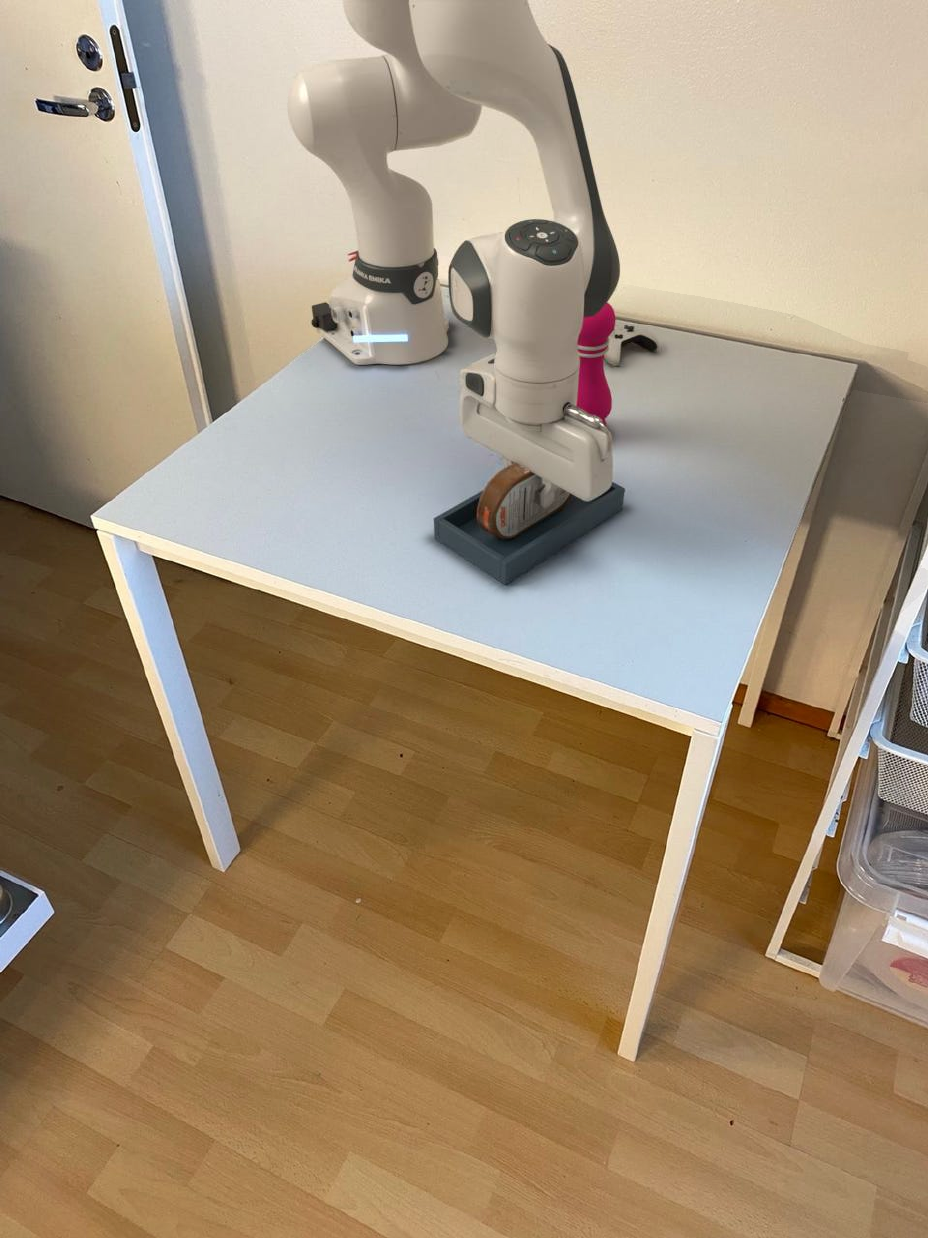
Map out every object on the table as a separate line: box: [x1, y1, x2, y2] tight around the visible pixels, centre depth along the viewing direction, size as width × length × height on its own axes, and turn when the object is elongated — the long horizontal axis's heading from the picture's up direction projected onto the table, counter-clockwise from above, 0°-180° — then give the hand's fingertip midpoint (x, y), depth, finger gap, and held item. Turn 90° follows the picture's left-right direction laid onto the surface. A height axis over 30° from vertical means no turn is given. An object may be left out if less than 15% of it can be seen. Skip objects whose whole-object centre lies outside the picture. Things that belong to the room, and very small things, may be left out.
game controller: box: [604, 324, 659, 367], centre depth 139 cm, size 10×5×6 cm
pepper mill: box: [576, 301, 617, 427], centre depth 116 cm, size 7×7×20 cm
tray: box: [433, 481, 626, 586], centre depth 107 cm, size 12×20×3 cm, turn 133°
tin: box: [477, 462, 572, 540], centre depth 105 cm, size 15×3×8 cm, turn 133°
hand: (531, 496), depth 105 cm, fingers closed on tin, 2 cm apart
